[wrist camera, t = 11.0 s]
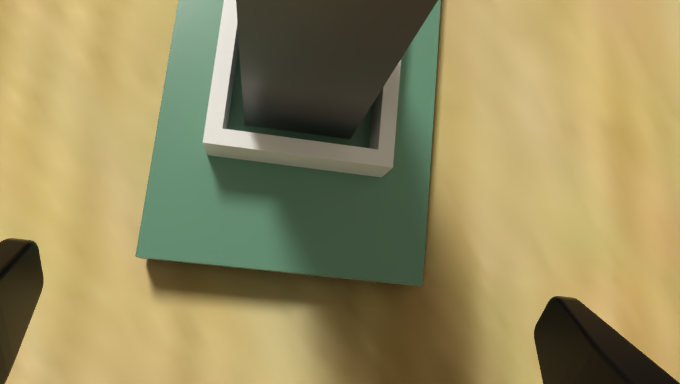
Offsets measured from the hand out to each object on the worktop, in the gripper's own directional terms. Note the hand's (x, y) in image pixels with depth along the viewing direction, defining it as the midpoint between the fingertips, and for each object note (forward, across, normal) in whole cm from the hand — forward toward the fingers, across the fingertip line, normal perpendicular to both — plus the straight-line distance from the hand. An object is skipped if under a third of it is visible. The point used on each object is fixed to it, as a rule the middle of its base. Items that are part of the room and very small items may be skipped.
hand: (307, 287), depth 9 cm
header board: (+11, 0, +1) cm, 11 cm away
